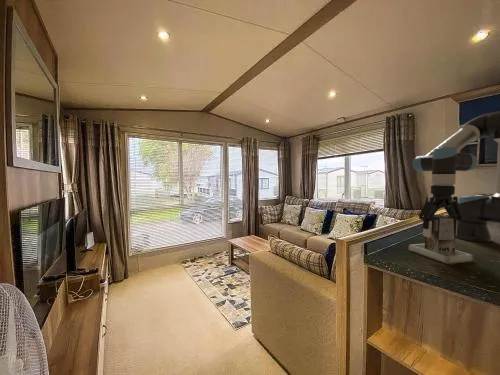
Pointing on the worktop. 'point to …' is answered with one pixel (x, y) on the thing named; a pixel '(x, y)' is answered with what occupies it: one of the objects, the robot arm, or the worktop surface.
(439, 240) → the coffee box
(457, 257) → the tray
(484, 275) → the worktop surface
